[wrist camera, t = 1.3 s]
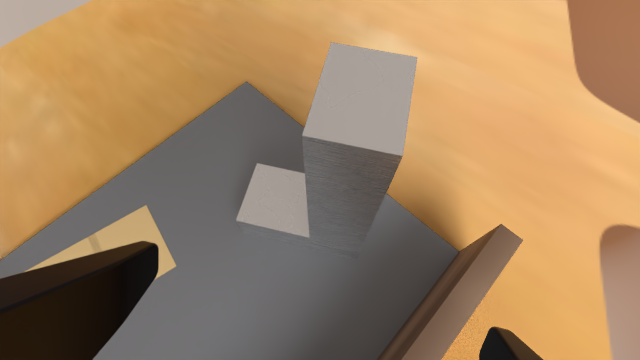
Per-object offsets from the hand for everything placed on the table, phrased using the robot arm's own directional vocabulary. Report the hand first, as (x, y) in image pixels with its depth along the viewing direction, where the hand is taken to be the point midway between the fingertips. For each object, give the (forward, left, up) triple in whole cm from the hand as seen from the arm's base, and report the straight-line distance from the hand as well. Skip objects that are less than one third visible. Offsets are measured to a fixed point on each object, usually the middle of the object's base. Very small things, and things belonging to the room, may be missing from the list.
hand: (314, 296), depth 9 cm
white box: (+5, -4, -12) cm, 14 cm away
